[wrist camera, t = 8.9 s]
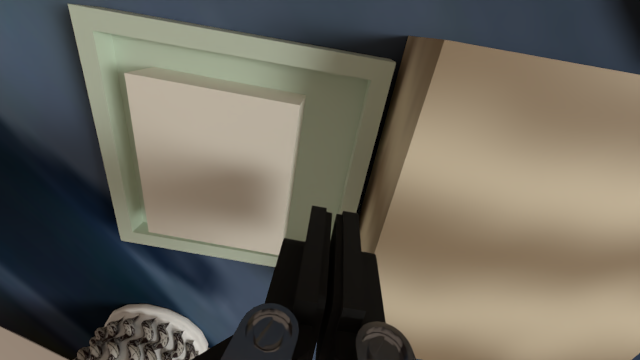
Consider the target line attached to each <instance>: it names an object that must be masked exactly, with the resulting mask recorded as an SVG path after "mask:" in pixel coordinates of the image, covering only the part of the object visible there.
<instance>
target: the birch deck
mask: <svg viewBox="0 0 640 360" xmlns="http://www.w3.org/2000/svg"><path fill="white" fill-rule="evenodd" d="M359 226H360V239H361V251H362V252H368V253H373V254H375V255H376V258H377V265H378V272H379V279H380V286H381V293H382V300H383V307H384V315H385V322H386V323H387V324H389V325H392V326H394V327H395V328H396V329H398V330H399V331H400V332H402V334H403V335H404V336H405V337H406V338H407V340H408V341H409V343H410V345H411V347H412V349H413V352H414V355H415V357H416V358H417V359H423V360H632V359H633V358H634V357H635V356H636V355H638V354H639V353H640V75H637V74H632V73H626V72H621V71H615V70H610V69H604V68H598V67H593V66H587V65H582V64H576V63H571V62H565V61H560V60H554V59H548V58H543V57H537V56H532V55H526V54H521V53H515V52H510V51H504V50H498V49H493V48H487V47H482V46H476V45H471V44H465V43H460V42H454V41H449V40H442V39H433V38H423V37H414V36H408V39H407V42H406V46H405V50H404V53H403V57H402V61H401V64H400V68H399V72H398V75H397V79H396V83H395V86H394V90H393V94H392V97H391V101H390V105H389V108H388V112H387V116H386V119H385V123H384V127H383V130H382V134H381V138H380V141H379V145H378V149H377V152H376V156H375V160H374V163H373V167H372V171H371V174H370V178H369V182H368V185H367V189H366V193H365V196H364V200H363V203H362V207H361V211H360V214H359Z"/></svg>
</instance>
